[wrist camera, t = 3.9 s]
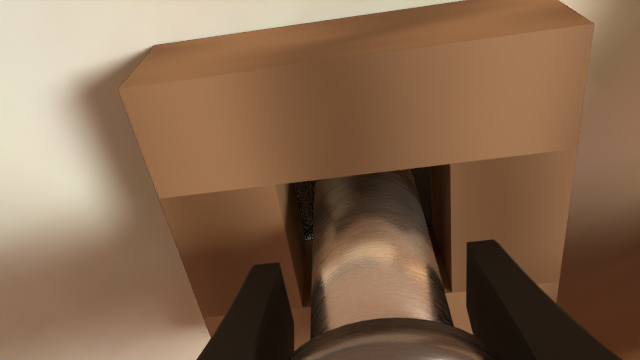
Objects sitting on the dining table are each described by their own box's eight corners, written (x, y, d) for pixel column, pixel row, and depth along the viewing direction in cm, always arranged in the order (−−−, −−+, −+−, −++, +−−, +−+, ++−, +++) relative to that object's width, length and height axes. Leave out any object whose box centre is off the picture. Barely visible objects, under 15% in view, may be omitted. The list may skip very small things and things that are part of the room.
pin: (437, 115, 14) (534, 345, 8) (440, 240, 17) (517, 499, 10) (278, 135, 15) (241, 371, 8) (303, 255, 17) (290, 514, 10)
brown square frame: (541, -11, 13) (594, 23, 11) (518, 282, 18) (549, 352, 16) (155, 45, 14) (118, 89, 11) (240, 310, 19) (227, 381, 17)
